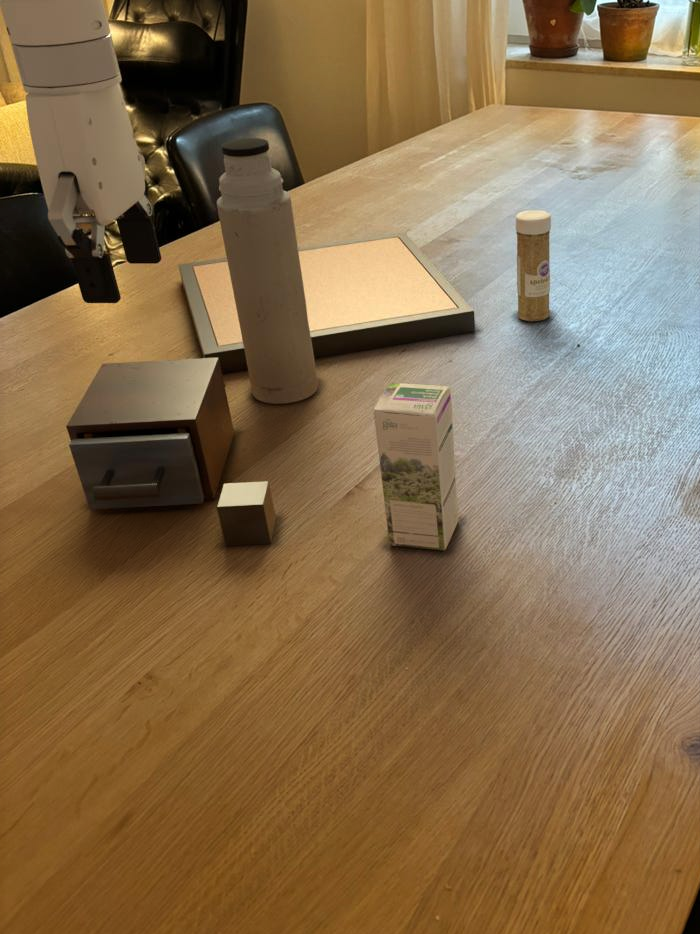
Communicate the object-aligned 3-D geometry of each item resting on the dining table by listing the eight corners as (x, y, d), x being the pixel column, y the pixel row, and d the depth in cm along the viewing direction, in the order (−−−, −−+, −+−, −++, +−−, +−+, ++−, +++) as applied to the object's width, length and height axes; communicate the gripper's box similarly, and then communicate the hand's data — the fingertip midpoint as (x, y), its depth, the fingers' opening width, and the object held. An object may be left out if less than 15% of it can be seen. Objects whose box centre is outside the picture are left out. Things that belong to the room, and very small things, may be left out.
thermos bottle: (239, 397, 124) (189, 148, 106) (277, 371, 130) (236, 130, 112) (294, 408, 121) (252, 154, 104) (330, 381, 127) (296, 135, 109)
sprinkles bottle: (539, 325, 138) (539, 221, 130) (510, 318, 140) (508, 216, 132) (556, 313, 141) (557, 211, 132) (527, 307, 143) (527, 207, 134)
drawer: (194, 528, 100) (178, 462, 95) (77, 535, 100) (54, 469, 95) (223, 439, 114) (209, 378, 109) (120, 445, 114) (102, 384, 109)
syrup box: (460, 520, 101) (452, 382, 92) (445, 553, 96) (435, 412, 87) (404, 515, 102) (391, 378, 93) (387, 548, 97) (371, 407, 88)
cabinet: (214, 499, 106) (195, 419, 100) (91, 506, 106) (65, 426, 100) (234, 432, 117) (218, 357, 111) (123, 439, 117) (102, 363, 111)
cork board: (406, 250, 163) (182, 283, 156) (405, 232, 162) (178, 264, 154) (475, 331, 137) (208, 376, 129) (474, 310, 135) (203, 354, 127)
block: (225, 546, 99) (216, 507, 96) (232, 521, 102) (223, 483, 99) (271, 543, 99) (263, 504, 96) (276, 519, 102) (268, 480, 99)
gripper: (69, 46, 88) (122, 249, 99) (-32, 89, 75) (42, 319, 85) (153, 43, 87) (197, 249, 98) (66, 87, 74) (127, 319, 84)
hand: (124, 281), depth 92 cm, fingers open, 9 cm apart
